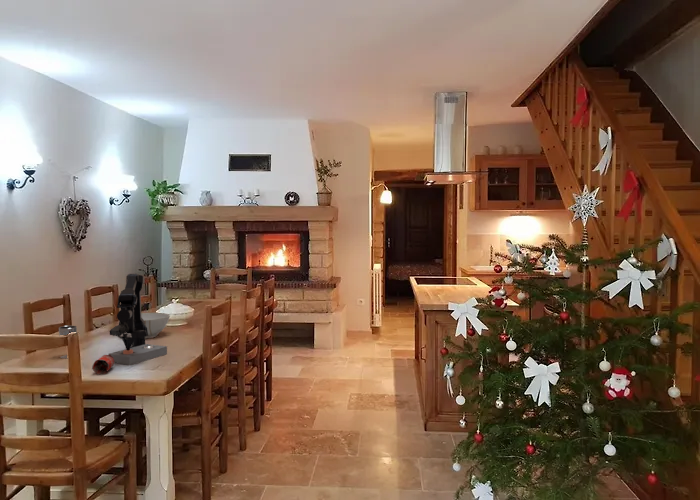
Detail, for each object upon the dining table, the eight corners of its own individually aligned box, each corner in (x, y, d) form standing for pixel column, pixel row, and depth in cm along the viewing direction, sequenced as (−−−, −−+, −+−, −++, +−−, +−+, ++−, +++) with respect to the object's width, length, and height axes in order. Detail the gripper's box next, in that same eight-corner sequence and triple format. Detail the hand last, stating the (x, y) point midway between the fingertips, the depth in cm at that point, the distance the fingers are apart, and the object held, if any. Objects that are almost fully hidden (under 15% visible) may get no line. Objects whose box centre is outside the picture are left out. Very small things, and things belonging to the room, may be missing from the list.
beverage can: (116, 367, 249) (115, 353, 248) (108, 374, 237) (108, 359, 237) (99, 368, 248) (99, 353, 247) (91, 375, 236) (91, 360, 235)
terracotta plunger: (121, 358, 259) (121, 350, 259) (128, 356, 263) (128, 348, 263) (128, 359, 257) (127, 351, 257) (135, 357, 261) (135, 349, 261)
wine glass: (80, 356, 270) (80, 326, 269) (65, 359, 263) (64, 329, 262) (71, 354, 274) (70, 325, 273) (56, 357, 267) (55, 327, 266)
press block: (108, 361, 258) (108, 353, 258) (146, 351, 280) (146, 343, 280) (129, 365, 252) (129, 356, 252) (167, 354, 274) (166, 346, 274)
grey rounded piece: (142, 354, 271) (141, 346, 271) (148, 352, 275) (148, 345, 275) (148, 355, 269) (148, 347, 269) (155, 353, 273) (155, 345, 273)
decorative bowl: (138, 343, 300) (137, 321, 299) (112, 337, 316) (112, 316, 316) (179, 335, 321) (178, 315, 321) (153, 330, 338) (153, 311, 337)
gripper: (99, 319, 256) (100, 351, 257) (128, 322, 248) (129, 355, 249) (118, 316, 266) (119, 347, 267) (146, 318, 258) (147, 350, 259)
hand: (128, 350), depth 260 cm, fingers closed, pressing on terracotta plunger
